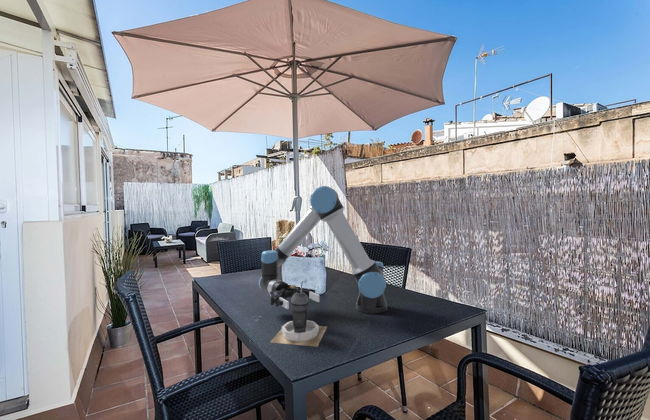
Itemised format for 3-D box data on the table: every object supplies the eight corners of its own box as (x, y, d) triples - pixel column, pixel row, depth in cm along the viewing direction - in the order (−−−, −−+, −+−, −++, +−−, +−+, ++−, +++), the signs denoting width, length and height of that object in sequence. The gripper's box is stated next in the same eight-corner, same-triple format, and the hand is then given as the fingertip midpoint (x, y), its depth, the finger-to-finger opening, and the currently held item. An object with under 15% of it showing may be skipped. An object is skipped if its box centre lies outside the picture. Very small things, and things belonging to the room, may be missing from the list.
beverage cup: (299, 325, 126) (299, 277, 125) (312, 330, 121) (313, 280, 120) (286, 331, 120) (286, 281, 119) (300, 337, 116) (300, 284, 115)
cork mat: (327, 328, 128) (327, 326, 128) (317, 348, 110) (317, 346, 110) (285, 324, 131) (285, 323, 131) (270, 343, 114) (270, 342, 114)
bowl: (322, 329, 125) (322, 322, 124) (308, 344, 112) (308, 336, 112) (292, 325, 130) (292, 318, 129) (276, 338, 117) (276, 330, 117)
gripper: (303, 293, 143) (330, 305, 125) (252, 303, 128) (274, 318, 111) (303, 276, 142) (330, 286, 125) (251, 285, 128) (273, 298, 111)
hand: (303, 302), depth 118 cm, fingers open, 13 cm apart
